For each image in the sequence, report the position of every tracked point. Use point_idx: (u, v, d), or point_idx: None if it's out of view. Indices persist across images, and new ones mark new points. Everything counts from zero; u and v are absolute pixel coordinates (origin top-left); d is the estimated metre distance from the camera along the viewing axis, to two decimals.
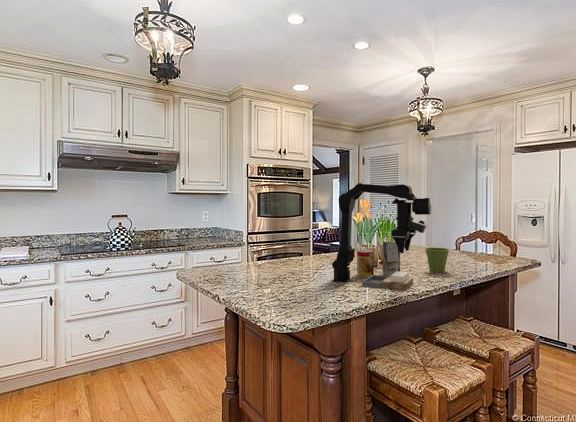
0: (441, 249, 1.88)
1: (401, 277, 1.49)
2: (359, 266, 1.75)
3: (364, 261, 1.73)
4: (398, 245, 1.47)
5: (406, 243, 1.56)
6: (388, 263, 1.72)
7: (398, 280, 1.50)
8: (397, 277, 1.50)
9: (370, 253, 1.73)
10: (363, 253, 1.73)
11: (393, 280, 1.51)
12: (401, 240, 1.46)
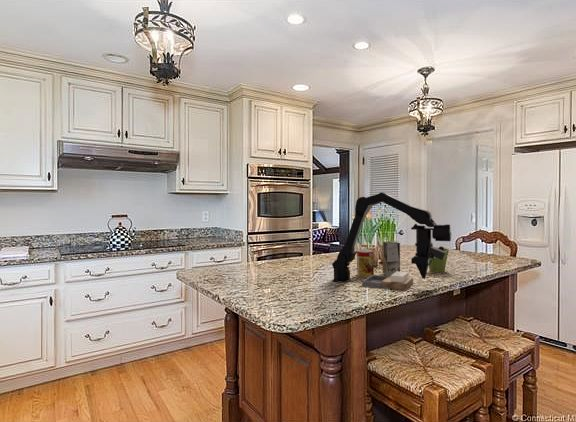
0: None
1: (401, 277, 1.49)
2: (359, 266, 1.75)
3: (364, 261, 1.73)
4: (420, 270, 1.49)
5: None
6: (388, 263, 1.72)
7: (398, 280, 1.50)
8: (397, 277, 1.50)
9: (370, 253, 1.73)
10: (363, 253, 1.73)
11: (393, 280, 1.51)
12: (423, 265, 1.48)
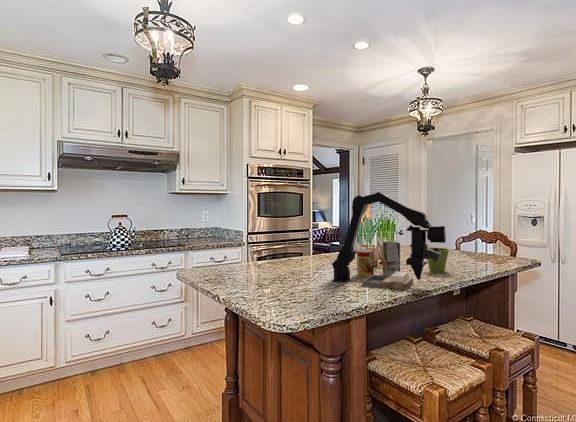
0: (441, 249, 1.88)
1: (401, 277, 1.49)
2: (359, 266, 1.75)
3: (364, 261, 1.73)
4: (415, 271, 1.50)
5: None
6: (388, 263, 1.72)
7: (398, 280, 1.50)
8: (397, 277, 1.50)
9: (370, 253, 1.73)
10: (363, 253, 1.73)
11: (393, 280, 1.51)
12: (418, 267, 1.49)
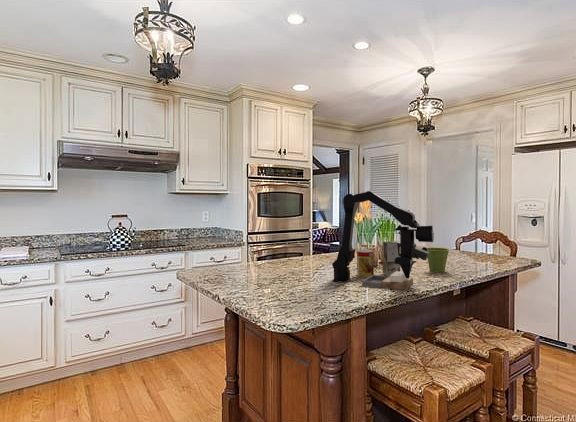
0: (441, 249, 1.88)
1: (400, 277, 1.49)
2: (359, 266, 1.75)
3: (364, 261, 1.73)
4: (404, 270, 1.52)
5: None
6: (388, 263, 1.72)
7: (397, 280, 1.50)
8: (396, 277, 1.50)
9: (370, 253, 1.73)
10: (363, 253, 1.73)
11: (392, 280, 1.51)
12: (407, 266, 1.51)
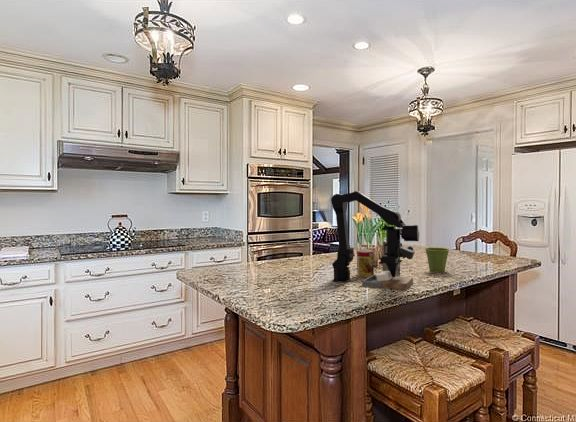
0: (441, 249, 1.88)
1: (386, 275, 1.52)
2: (359, 266, 1.75)
3: (364, 261, 1.73)
4: (390, 269, 1.55)
5: None
6: None
7: (384, 278, 1.53)
8: (382, 276, 1.53)
9: (370, 253, 1.73)
10: (363, 253, 1.73)
11: (379, 279, 1.54)
12: (393, 265, 1.54)
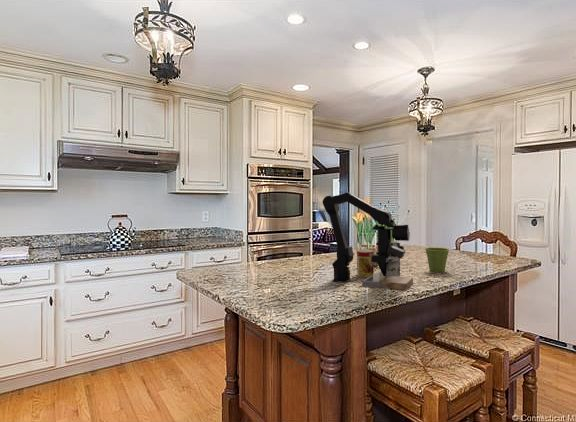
0: (441, 249, 1.88)
1: (373, 274, 1.55)
2: (359, 266, 1.75)
3: (364, 261, 1.73)
4: (381, 268, 1.57)
5: None
6: None
7: (377, 277, 1.54)
8: (374, 278, 1.55)
9: (370, 253, 1.73)
10: (363, 253, 1.73)
11: None
12: (384, 264, 1.56)
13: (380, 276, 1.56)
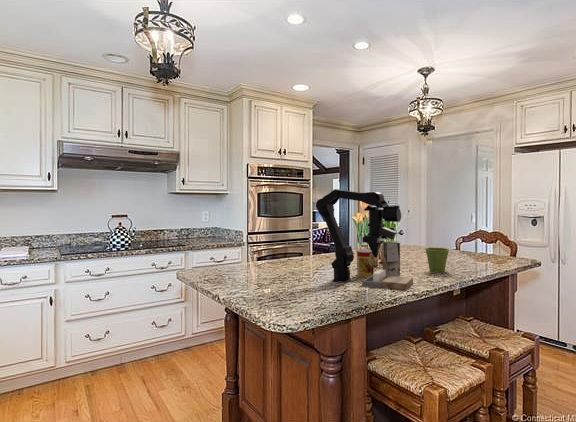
0: (441, 249, 1.88)
1: (374, 274, 1.55)
2: (359, 266, 1.75)
3: (364, 261, 1.73)
4: (372, 250, 1.56)
5: None
6: (388, 263, 1.72)
7: (377, 278, 1.54)
8: (374, 278, 1.55)
9: (370, 253, 1.73)
10: (363, 253, 1.73)
11: None
12: (375, 245, 1.55)
13: (380, 276, 1.56)
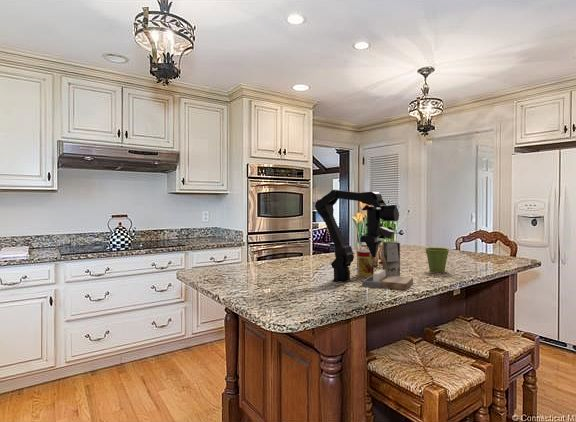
0: (441, 249, 1.88)
1: (374, 274, 1.55)
2: (359, 266, 1.75)
3: (364, 261, 1.73)
4: (370, 249, 1.56)
5: None
6: (388, 263, 1.72)
7: (377, 278, 1.54)
8: (374, 278, 1.55)
9: (370, 253, 1.73)
10: (363, 253, 1.73)
11: None
12: (373, 245, 1.55)
13: (380, 276, 1.56)
